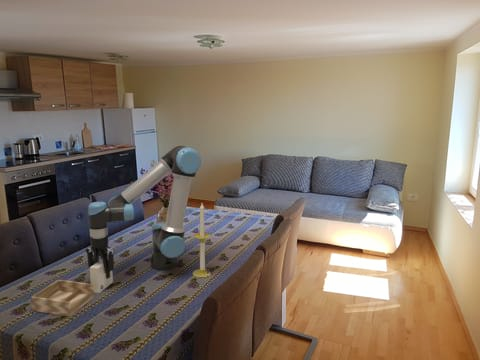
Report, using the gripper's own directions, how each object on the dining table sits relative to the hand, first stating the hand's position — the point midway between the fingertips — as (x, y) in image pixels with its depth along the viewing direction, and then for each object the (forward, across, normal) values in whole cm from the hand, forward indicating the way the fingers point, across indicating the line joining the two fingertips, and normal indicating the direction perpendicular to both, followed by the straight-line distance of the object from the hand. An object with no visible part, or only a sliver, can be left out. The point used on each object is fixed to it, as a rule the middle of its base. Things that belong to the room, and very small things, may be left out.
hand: (102, 283), depth 170 cm
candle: (+2, -40, -25) cm, 48 cm away
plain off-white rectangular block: (+2, 0, 0) cm, 2 cm away
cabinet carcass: (+2, +7, +17) cm, 18 cm away
